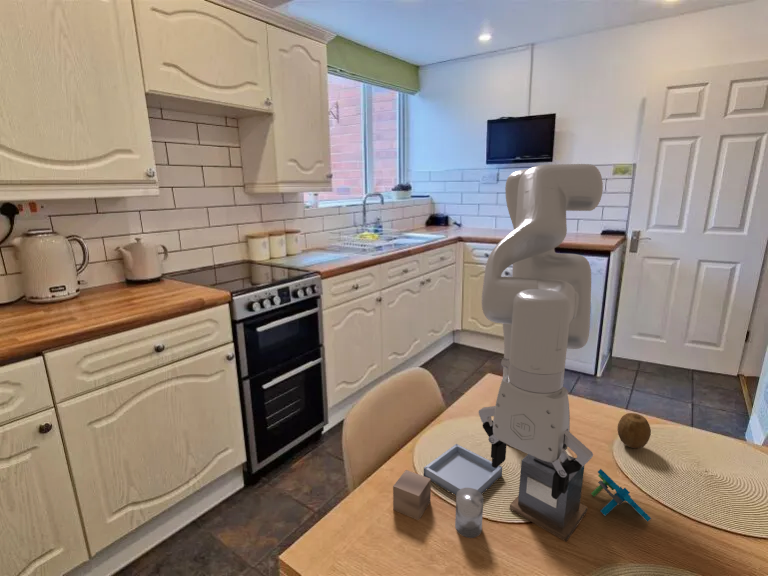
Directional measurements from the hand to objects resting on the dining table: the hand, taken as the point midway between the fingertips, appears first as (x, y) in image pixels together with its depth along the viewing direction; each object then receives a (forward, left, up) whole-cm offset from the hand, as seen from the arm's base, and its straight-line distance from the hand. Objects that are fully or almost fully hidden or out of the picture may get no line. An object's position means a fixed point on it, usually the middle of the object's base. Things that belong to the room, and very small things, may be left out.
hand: (526, 477), depth 64 cm
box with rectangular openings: (-10, 0, -12) cm, 16 cm away
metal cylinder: (+3, -8, -12) cm, 15 cm away
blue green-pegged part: (-19, +9, -13) cm, 24 cm away
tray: (-7, -16, -12) cm, 21 cm away
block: (+6, -18, -12) cm, 23 cm away
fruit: (-41, +5, -12) cm, 43 cm away
